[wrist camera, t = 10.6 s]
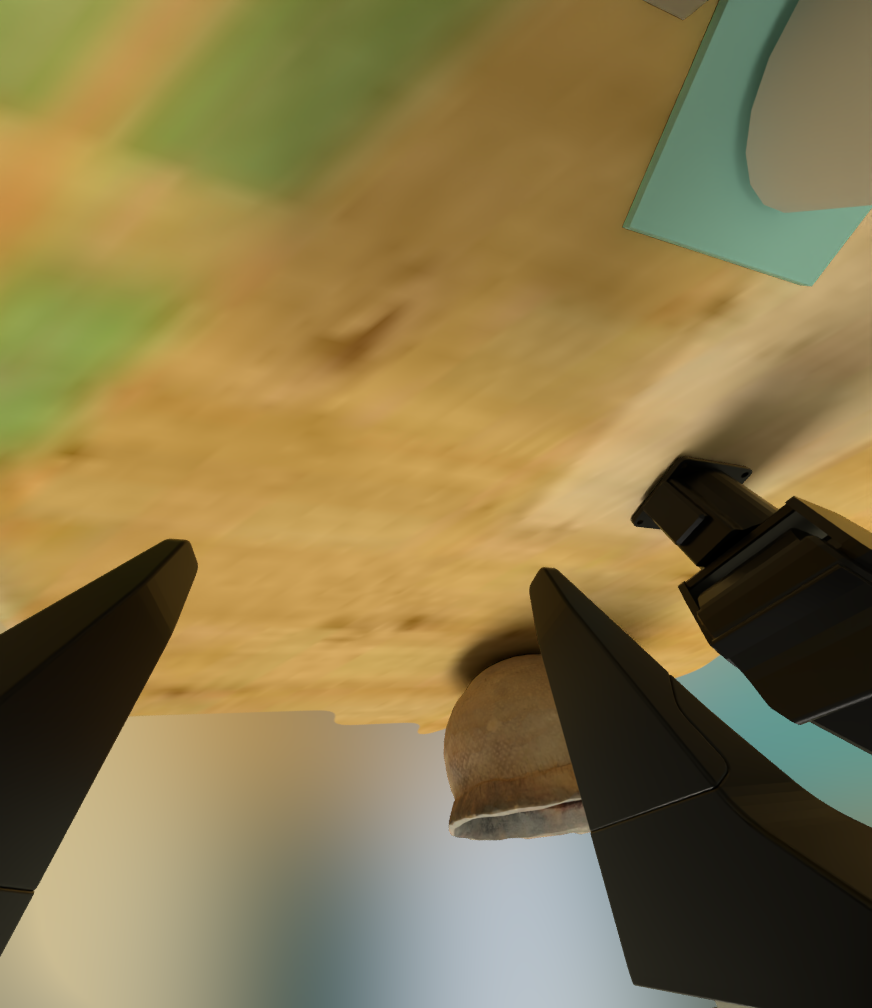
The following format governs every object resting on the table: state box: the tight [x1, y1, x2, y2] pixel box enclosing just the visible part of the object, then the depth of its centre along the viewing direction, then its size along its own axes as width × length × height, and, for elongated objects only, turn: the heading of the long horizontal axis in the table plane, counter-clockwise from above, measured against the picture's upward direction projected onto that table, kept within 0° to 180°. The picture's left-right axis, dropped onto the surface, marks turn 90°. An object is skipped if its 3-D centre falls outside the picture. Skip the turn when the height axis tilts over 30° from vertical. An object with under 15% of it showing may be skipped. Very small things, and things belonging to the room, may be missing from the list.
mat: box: [623, 0, 872, 286], centre depth 13 cm, size 11×11×1 cm
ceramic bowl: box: [444, 654, 591, 840], centre depth 37 cm, size 22×22×15 cm
